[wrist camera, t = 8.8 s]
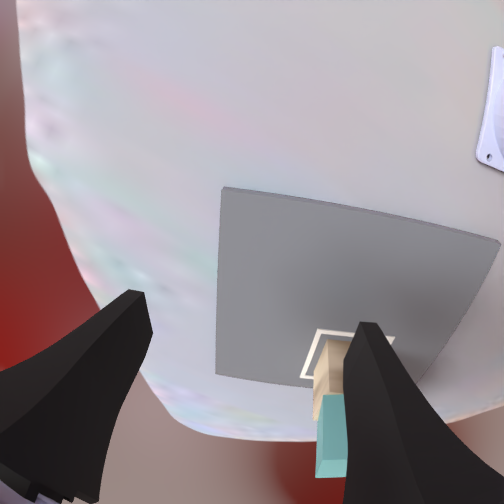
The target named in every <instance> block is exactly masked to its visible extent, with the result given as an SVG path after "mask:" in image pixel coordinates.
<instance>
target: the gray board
mask: <svg viewBox="0 0 504 504" xmlns="http://www.w3.org/2000/svg"><path fill="white" fill-rule="evenodd" d="M500 246H501V244H500V243H499V241H498V240H494V239H491V238H487V237H484V236H480V235H476V234H472V233H469V232H465V231H461V230H457V229H453V228H449V227H445V226H441V225H436V224H432V223H428V222H424V221H419V220H415V219H410V218H406V217H401V216H396V215H392V214H387V213H382V212H377V211H372V210H367V209H362V208H357V207H351V206H346V205H341V204H335V203H329V202H324V201H318V200H312V199H306V198H300V197H293V196H287V195H280V194H274V193H267V192H260V191H252V190H245V189H237V188H229V187H223V189H222V190H221V208H220V228H219V250H218V277H217V310H216V372H215V374H218V375H223V376H228V377H234V378H240V379H246V380H252V381H258V382H265V383H272V384H279V385H287V386H296V387H305V388H313V385H314V370H315V367H316V365H317V363H318V360H319V358H320V355H321V353H322V351H323V348H324V346H325V343H326V341H327V339H331V340H340V341H350V342H351V341H352V339H353V337H354V334H355V332H356V329H357V327H358V325H359V322H360V321H362V322H374V323H377V324H378V325H379V327H380V328H381V330H382V332H383V333H384V335H385V336H386V338H387V340H388V341H389V343H390V345H391V346H392V348H393V350H394V351H395V353H396V354H397V356H398V358H399V359H400V361H401V363H402V364H403V366H404V367H405V369H406V370H407V372H408V373H409V375H410V377H411V378H412V380H413V381H414V383H415V384H416V383H417V382H418V381H419V379H420V378H421V377H422V376H423V374H424V373H425V372H426V370H427V369H428V368H429V366H430V365H431V364H432V362H433V361H434V360H435V358H436V357H437V356H438V354H439V353H440V351H441V350H442V349H443V347H444V346H445V344H446V343H447V341H448V340H449V338H450V337H451V335H452V334H453V332H454V331H455V329H456V328H457V326H458V325H459V323H460V321H461V320H462V318H463V317H464V315H465V313H466V312H467V310H468V308H469V307H470V305H471V303H472V301H473V300H474V298H475V296H476V294H477V292H478V291H479V289H480V287H481V285H482V283H483V281H484V279H485V278H486V276H487V274H488V272H489V270H490V268H491V266H492V263H493V261H494V259H495V257H496V255H497V253H498V251H499V248H500Z"/></svg>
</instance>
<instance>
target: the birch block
mask: <svg viewBox="0 0 504 504" xmlns="http://www.w3.org/2000/svg"><path fill="white" fill-rule="evenodd" d="M350 344H351V342H350V341H340V340H331V339H327V341H326V343H325V346H324V348H323V351H322V353H321V355H320V358H319V360H318V363H317V365H316V367H315V370H314V385H313V420H317V421H318V418H319V413H320V408H321V403H322V398H323V395H337V394H343V360H344V358H345V355H346V353H347V351H348V348H349V346H350Z"/></svg>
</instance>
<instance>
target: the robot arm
mask: <svg viewBox="0 0 504 504" xmlns="http://www.w3.org/2000/svg"><path fill="white" fill-rule="evenodd" d="M503 55H504V49H503V48H501V47H499V46H495V47H493V49H492V58H491V69H490V78H489V86H488V93H487V100H486V106H485V112H484V117H483V122H482V127H481V132H480V136H479V141H478V145H477V149H476V158H477V160H479V161H480V162H482V163H484V164H486V165H489V166H491V167H493V168H496V169H498V170H500V171H503V172H504V57H503ZM488 154H489V159H488V160H487V155H488ZM152 335H153V331H152V326H151V322H150V318H149V313H148V309H147V304H146V299H145V294H144V292H140V291H135V290H130V289H128V290H127V291H126V292H124V293H123V294H121V295H120V296H119V297H117V298H116V299H115V300H113V301H112V302H111V303H109V304H108V305H107V306H106V307H104V308H103V309H102V310H100V311H99V312H98V313H96V314H95V315H94V316H92V317H91V318H90V319H89V320H87V321H86V322H85V323H83V324H82V325H81V326H79V327H78V328H76V329H75V330H73V331H72V332H71V333H69V334H68V335H66V336H65V337H63V338H62V339H61V340H59V341H58V342H56V343H55V344H53V345H51V346H50V347H48V348H47V349H45V350H43V351H41V352H40V353H38V354H36V355H35V356H33V357H31V358H29V359H27V360H25V361H23V362H21V363H19V364H17V365H15V366H12V367H11V368H8V369H6V370H3V371H1V372H0V504H61V503H62V500H63V499H65V500H67V501H69V502H71V503H72V502H73V500H74V497H77V498H79V499H81V500H83V501H85V502H87V503H89V504H93V503H96V502H98V501H99V492H100V486H101V479H102V473H103V468H104V463H105V459H106V454H107V450H108V446H109V443H110V439H111V435H112V432H113V429H114V426H115V422H116V419H117V416H118V414H119V411H120V409H121V406H122V404H123V402H124V400H125V398H126V396H127V394H128V392H129V389H130V387H131V385H132V383H133V381H134V379H135V377H136V375H137V373H138V371H139V369H140V367H141V365H142V363H143V360H144V358H145V356H146V353H147V350H148V347H149V344H150V341H151V338H152ZM343 394H344V405H345V416H346V428H347V442H348V456H347V471H346V482H345V491H344V498H343V504H504V477H503V476H502V475H501V474H499V473H498V472H496V471H495V470H494V469H492V468H491V467H490V466H488V465H487V464H486V463H485V462H483V461H482V460H481V459H480V458H479V457H478V456H477V455H476V454H474V453H473V452H472V451H471V450H470V449H469V448H468V447H467V446H466V445H465V444H464V443H463V442H462V441H461V440H460V439H459V438H458V437H457V436H456V435H455V434H454V433H453V432H452V431H451V430H450V429H449V427H448V426H447V425H446V424H445V423H444V421H443V420H442V419H441V418H440V416H439V415H438V414H437V413H436V412H435V410H434V409H433V408H432V407H431V405H430V404H429V403H428V401H427V400H426V399H425V397H424V396H423V394H422V393H421V391H420V390H419V389H418V387H417V386H416V384H415V383H414V381H413V380H412V378H411V377H410V375H409V373H408V372H407V370H406V369H405V367H404V366H403V364H402V363H401V361H400V359H399V358H398V356H397V354H396V353H395V351H394V350H393V348H392V346H391V345H390V343H389V341H388V340H387V338H386V336H385V335H384V333H383V332H382V330H381V328H380V327H379V325H378V324H377V323H374V322H362V321H360V322H359V325H358V327H357V329H356V332H355V334H354V337H353V339H352V341H351V344H350V346H349V348H348V351H347V353H346V355H345V358H344V360H343Z"/></svg>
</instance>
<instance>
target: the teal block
mask: <svg viewBox="0 0 504 504" xmlns="http://www.w3.org/2000/svg"><path fill="white" fill-rule="evenodd" d="M347 456H348V442H347V428H346V416H345V405H344V394H337V395H323V398H322V403H321V408H320V413H319V418H318V422H317V456H316V476H315V477H316V478H326V477H327V478H328V477H346V471H347Z"/></svg>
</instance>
